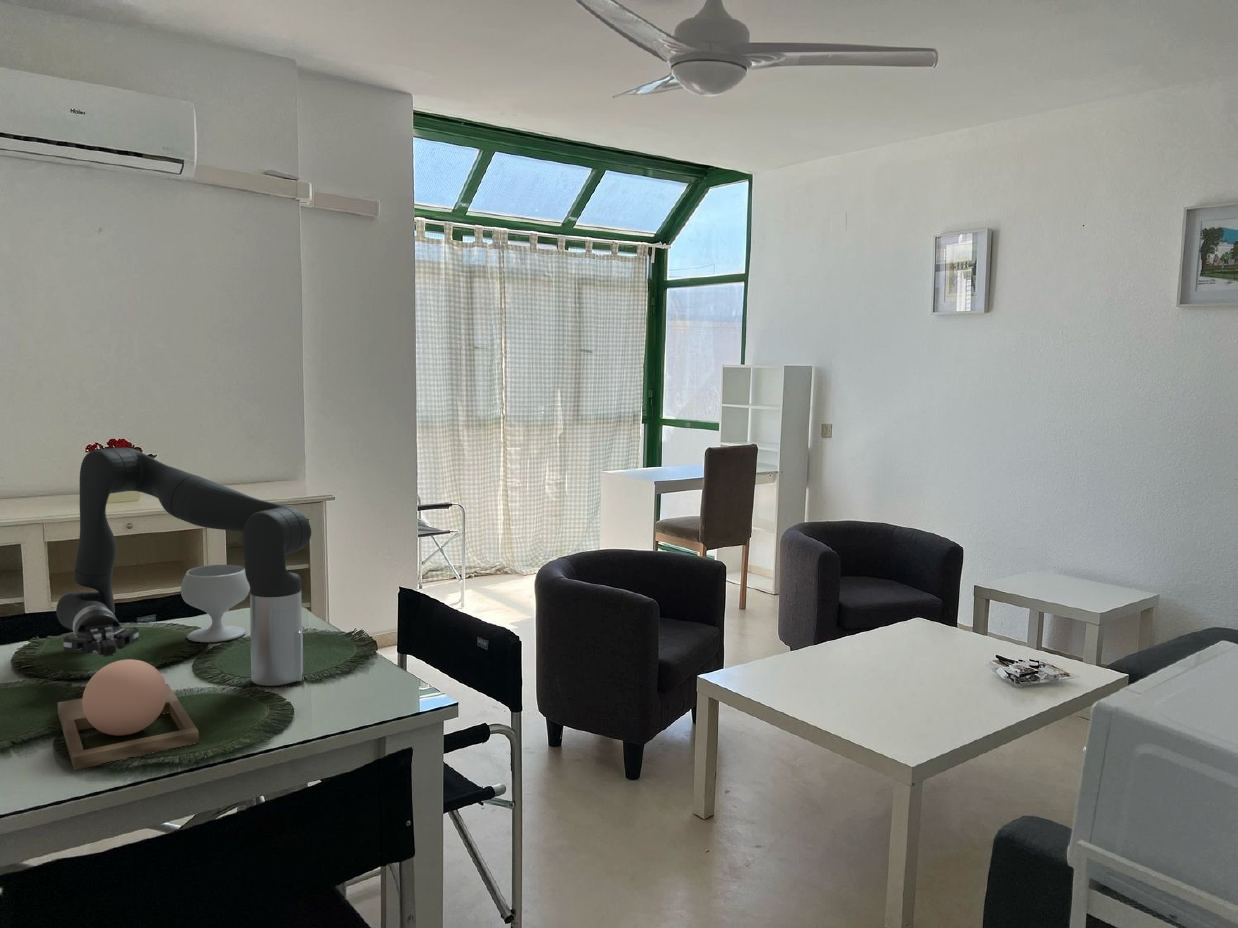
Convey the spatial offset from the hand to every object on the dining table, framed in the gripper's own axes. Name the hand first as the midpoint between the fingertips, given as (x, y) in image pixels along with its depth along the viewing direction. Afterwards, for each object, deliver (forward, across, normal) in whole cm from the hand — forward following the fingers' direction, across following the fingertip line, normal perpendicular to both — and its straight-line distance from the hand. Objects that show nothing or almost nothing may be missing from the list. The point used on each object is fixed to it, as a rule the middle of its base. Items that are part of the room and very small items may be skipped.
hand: (108, 651), depth 158 cm
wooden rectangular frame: (+19, 0, +8) cm, 20 cm away
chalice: (-27, +24, +8) cm, 37 cm away
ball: (+21, 0, +2) cm, 21 cm away
